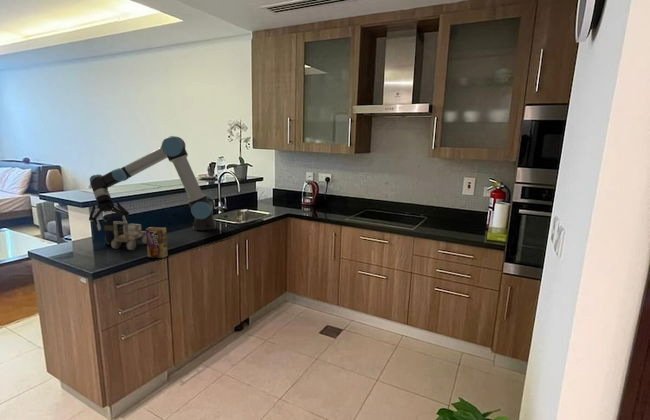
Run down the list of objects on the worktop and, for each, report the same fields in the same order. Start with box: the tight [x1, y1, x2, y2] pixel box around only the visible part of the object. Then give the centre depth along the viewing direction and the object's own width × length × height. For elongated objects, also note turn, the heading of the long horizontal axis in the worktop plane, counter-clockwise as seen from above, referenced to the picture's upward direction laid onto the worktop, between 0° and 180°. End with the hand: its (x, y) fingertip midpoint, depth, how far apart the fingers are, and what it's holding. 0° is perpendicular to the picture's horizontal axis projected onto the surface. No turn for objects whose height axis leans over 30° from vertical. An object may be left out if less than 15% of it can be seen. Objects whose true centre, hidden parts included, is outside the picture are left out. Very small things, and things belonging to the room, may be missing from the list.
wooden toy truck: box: [111, 221, 147, 251], centre depth 193 cm, size 18×11×16 cm, turn 172°
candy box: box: [145, 226, 169, 259], centre depth 178 cm, size 9×4×15 cm, turn 86°
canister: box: [102, 212, 124, 245], centre depth 197 cm, size 10×10×18 cm
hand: (113, 227), depth 196 cm, fingers open, 13 cm apart
